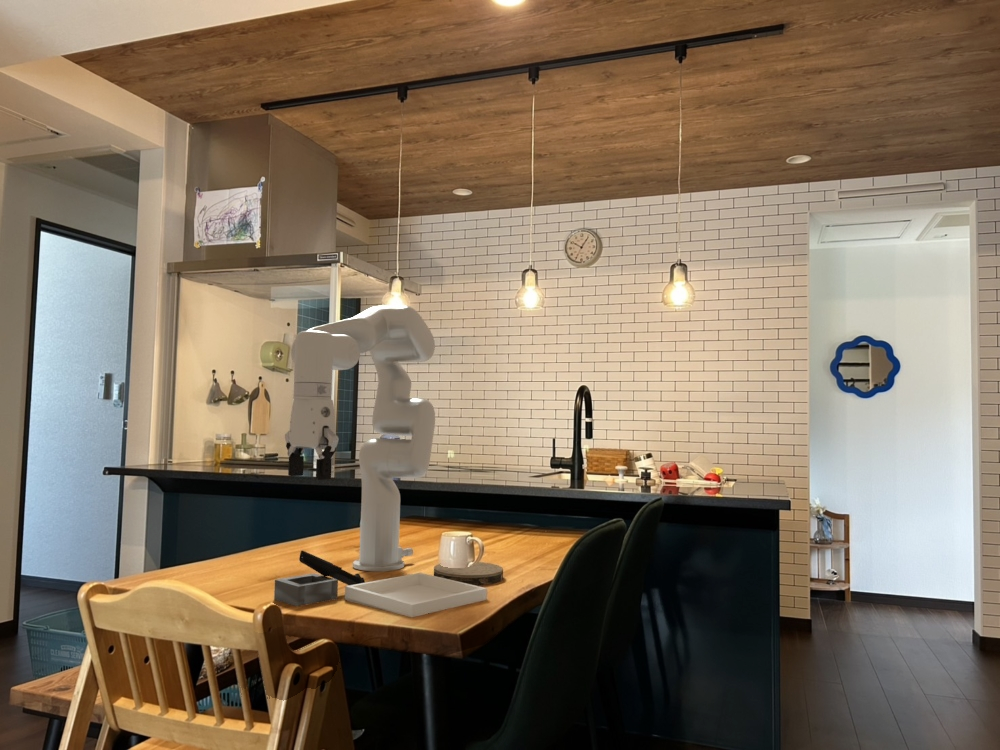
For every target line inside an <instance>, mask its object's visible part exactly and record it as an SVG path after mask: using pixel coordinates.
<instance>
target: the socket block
mask: <svg viewBox="0 0 1000 750" xmlns="http://www.w3.org/2000/svg"><path fill="white" fill-rule="evenodd" d="M338 587H339V581H338V580H337V579H334V578H332V577H330V576H323V575H321V574H318V573H316V572H314V573H309V574H301V575H296V576H290V577H283V578H278V579H277V578H276V579H275V580H274V596H273V600H274V601H277V602H281V603H283V604H284V603H285V604H287V605H290V604H291V605H290V606H294V605H295V606H294V607H297V606H298V607H302V606H301V605H304V606H307V605H306V604H309V605H312V604H311V603H314V604H318V603H317V602H319V603H324V602H329V600H330V601H333V600H334V599H335V600H338V592H339V591H338V589H339V588H338ZM323 601H324V602H323Z"/></svg>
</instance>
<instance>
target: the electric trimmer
mask: <svg viewBox="0 0 1000 750" xmlns="http://www.w3.org/2000/svg"><path fill="white" fill-rule="evenodd" d="M299 562H300V563H302V564H303V565H305V566H307V567H308V568H310V569H312V570H314V571H316V573H317V574H318V573H319V575H322V576H326V577H329V578H333V579H337V580H338V582H340V583H342V584H345V585H346V586H349V585H355V584H360V583H366V581H365V577H361V574H359V573H355V574H353V573H351V572H348V571H346V570H344V569H342V568H343V567H341V566H338V565H335V564H334V563H332V562H330V561H327V560H326V559H323V558H321V557H318V556H316V555H314V554H312V553H309V552H307V551H304V550H301V551H300V554H299Z"/></svg>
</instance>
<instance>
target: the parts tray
mask: <svg viewBox="0 0 1000 750" xmlns="http://www.w3.org/2000/svg"><path fill="white" fill-rule="evenodd" d="M344 588H345V589H344V601H346V600H347V601H348V602H351V603H355V604H357V605H362V606H366V607H370V608H374V609H378V610H381V611H386V612H389V613H393V614H397V615H402V616H405V617H408V618H414V617H419V616H424V615H428V613H429V614H432V613H436V612H441V611H444V610H445V609H446V610H449V609H454V608H457V607H462V606H467V605H471V604H476V603H479V602H485V601H487V600H488V588H487V587H482V586H480V585H471V584H467V583H462V582H458V581H454V580H449V579H445V578H441V577H437V576H434V575H431V574H428V573H423V572H417V573H411V574H406V575H401V576H400V575H399V576H396V577H389V578H384V579H377V580H373V581H367V582H366V581H365V583H360V584H355V585H345V586H344ZM347 601H346V602H347Z"/></svg>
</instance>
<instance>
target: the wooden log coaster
mask: <svg viewBox="0 0 1000 750" xmlns="http://www.w3.org/2000/svg"><path fill="white" fill-rule="evenodd" d="M476 562H477V563H476V564H474V565H473V566H470V567H465V568H448V567H443V566H441V565H440V564H441V563H438V564H436V565H434V566H433V576H437V577H441V578H445V579H449V580H454V581H458V582H462V583H467V584H471V585H475V586H485V585H486V586H487V585H493V584H496V583H499V582H502V581H503V579H504V568H503V566H501V565H498V564H494V563H490V562H482V561H476Z"/></svg>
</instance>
